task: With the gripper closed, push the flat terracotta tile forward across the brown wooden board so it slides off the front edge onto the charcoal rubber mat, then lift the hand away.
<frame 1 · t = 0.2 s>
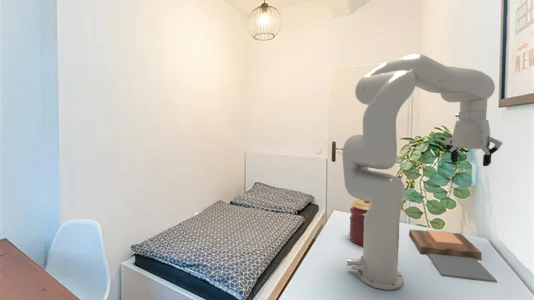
hand: (469, 163, 94), 30 cm above the table, tool pointing down, fingers open, 9 cm apart
brown wooden board: (441, 246, 96), on the table
canister: (366, 240, 102), on the table
tile: (443, 241, 94), point 2 cm above the table, touching brown wooden board
mat: (458, 267, 82), on the table
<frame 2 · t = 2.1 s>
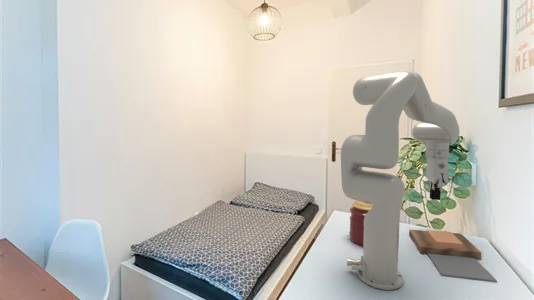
hand: (434, 199, 104), 15 cm above the table, tool pointing down, fingers closed
nothing on the table moved.
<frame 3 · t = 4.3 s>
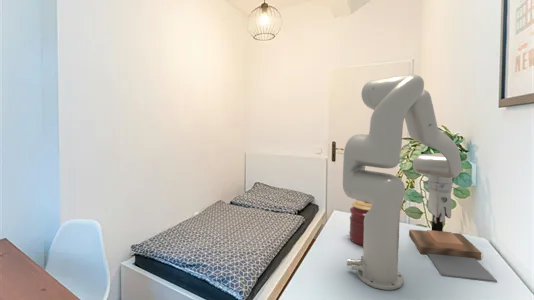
hand: (436, 232, 100), 3 cm above the table, tool pointing down, fingers closed
tile: (443, 241, 94), point 3 cm above the table, touching gripper
everything else where it was.
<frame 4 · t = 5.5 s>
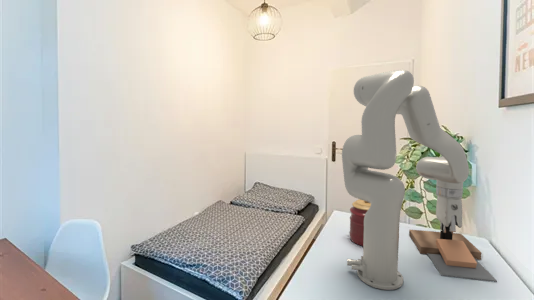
hand: (445, 242, 92), 3 cm above the table, tool pointing down, fingers closed
tile: (454, 254, 86), point 2 cm above the table, tilted 16°, touching gripper
everything else where it was.
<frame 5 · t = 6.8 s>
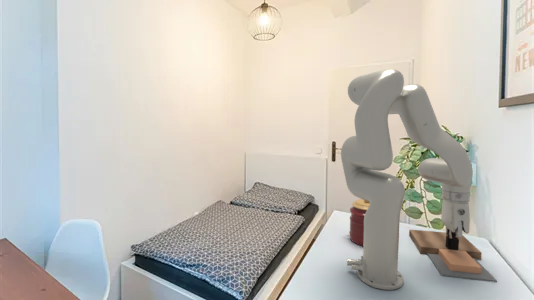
hand: (451, 248, 88), 3 cm above the table, tool pointing down, fingers closed
tile: (458, 263, 84), resting on mat
everything else where it was.
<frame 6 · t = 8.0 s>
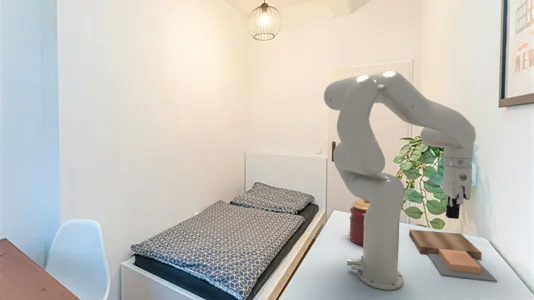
hand: (452, 217, 86), 14 cm above the table, tool pointing down, fingers closed
nothing on the table moved.
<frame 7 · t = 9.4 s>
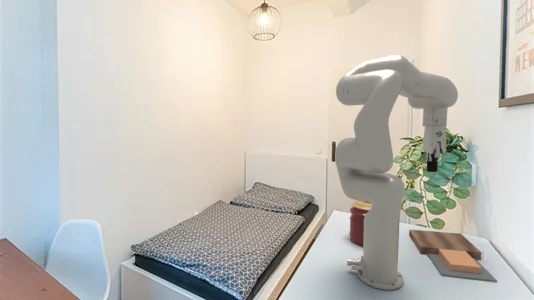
hand: (431, 171, 98), 27 cm above the table, tool pointing down, fingers closed
nothing on the table moved.
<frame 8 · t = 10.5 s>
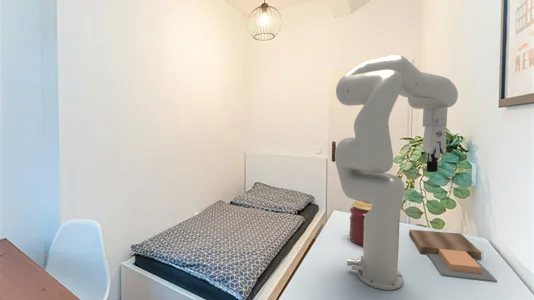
hand: (431, 171, 98), 27 cm above the table, tool pointing down, fingers closed
nothing on the table moved.
at the end: tile inside the target area (2.2 cm from its centre), point 0.5 cm above the table; tile touching mat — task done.
